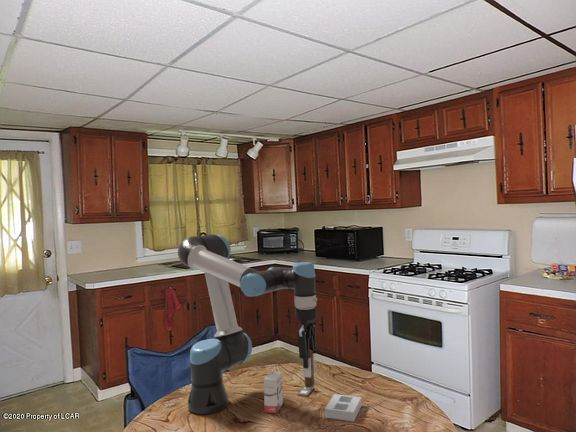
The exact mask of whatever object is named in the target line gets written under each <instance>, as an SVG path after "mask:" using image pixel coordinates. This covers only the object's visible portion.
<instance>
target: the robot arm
mask: <svg viewBox="0 0 576 432" xmlns="http://www.w3.org/2000/svg"><path fill="white" fill-rule="evenodd" d="M231 249H232V248H231V244H230V243H229V241H228V240H227V238H225V237H224V236H223V235H222V234H214V233H212V234H205V235H204V234H203V235H193V236H192V235H191V236H189V237H187V238H185V239H183V240H182V241H181V242H180V244H179V246H178V248H177V257H178V260H179V261H180V262H181V263H182V264H183V265H184V266H186V267H188V268H189V269H191V270H196V271H197V270H200V271H201V272H202V273H204V276H205V280H206V285H207V290H208V295H209V299H210V305H211V309H212V315H213V319H214V323H215V327H216V332H215V334H214V335H213V338H208V339H204V340H203V339H202V340H200V341H197V342H196V343H195V344H193V345H192V346H191V348H190V351H189V353H190V354H189V362H190V381H191V388H190V392H189V396H188V400H187V410H188V409H189V410H190V411H191V412H190V411H189V410H188V411H189V412H190V413H192V412H193V413H192V414H194V413H197V414H196V415H210V414H211V415H212V414H214V413H218V412H221V411H223V410H224V409H226V408H227V407H228V406H229V404H230V403H229V401H230V399H229V394H228V392H227V389H226V387H225V384H224V379H223V378H224V377H223V372H226V371H228V370H230V369H232V368H235V367H237V366H240V365H242V364H243V363H245V362H246V361H248V360H249V358H250V357H251V355H252V352H253V351H252V350H253V344H252V340H251V337H249V335H248V334H247V333H245V332H244V331H243V328H242V327H240V326H239V325H238V322H237V321H238V319H237V316H236V312H235V307H234V303H233V298H232V294H231V288H230V285H229V284H232V285H234V286H237V287H238V288H240V290H241V292H242V293H243V294H244V296H246V297H259V296H261V295H264V294H268V293H271V292H275V291H279V290H293V291H294V295H293V296H294V307H295V309H294V311H295V312H294V314H295V315H294V316H295V319H296V320H297V321H300V323H299V330H296V335H297V342H298V343H297V344H298V353H299V355H298V357H299V359H302V362H301V363H302V376H303V377H304V378H305V377H310V378H311V360H310V358H309V350H312V351H313V368H314V374H315V373H316V371H315V369H316V368H315V367H316V366H315V355H316V354H317V351H316V350H317V339H316V338H317V336H316V331H317V330H316V328H317V327H316V326H317V322H316V321H314V320H316V319H317V318H318V309H317V301H318V298H317V292H316V277H317V276H316V272H315V264H314V263H313V262H310V261H305V262H304V261H302V262H301V261H300V262H295V263H293V265H292V267H281V266H273V267H269V268H268V269H267V270H263V271H259V270H256V269H254V268H251V267H248V266H246V265H244V264H242V263H239V262H237V261H234V260H232V259H229V258H230V256H231V253H232V252H231Z"/></svg>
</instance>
